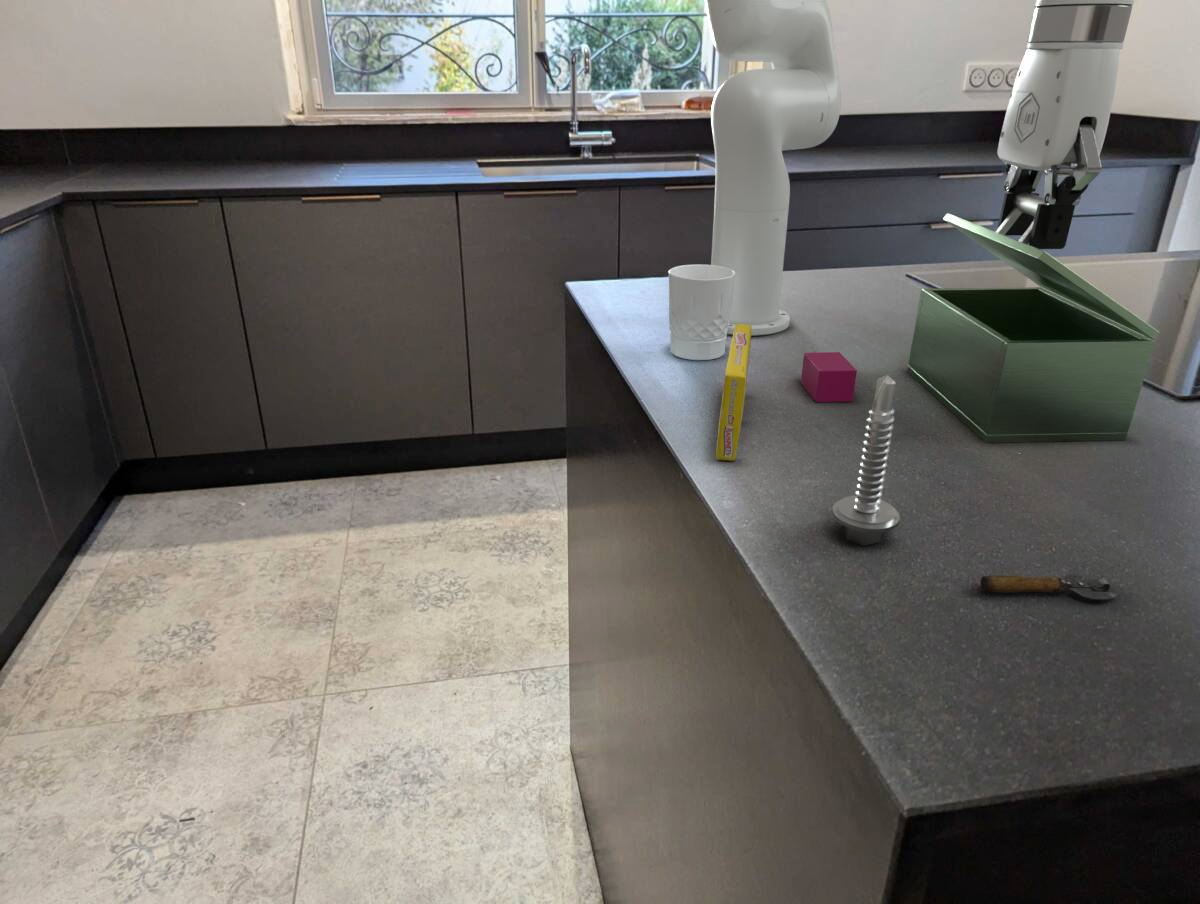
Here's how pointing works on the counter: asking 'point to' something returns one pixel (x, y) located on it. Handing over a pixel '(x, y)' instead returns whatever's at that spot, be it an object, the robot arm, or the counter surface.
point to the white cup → (700, 310)
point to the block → (828, 377)
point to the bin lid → (1046, 265)
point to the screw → (872, 476)
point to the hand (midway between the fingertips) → (1029, 239)
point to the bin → (1027, 364)
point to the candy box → (734, 393)
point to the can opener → (1047, 585)
